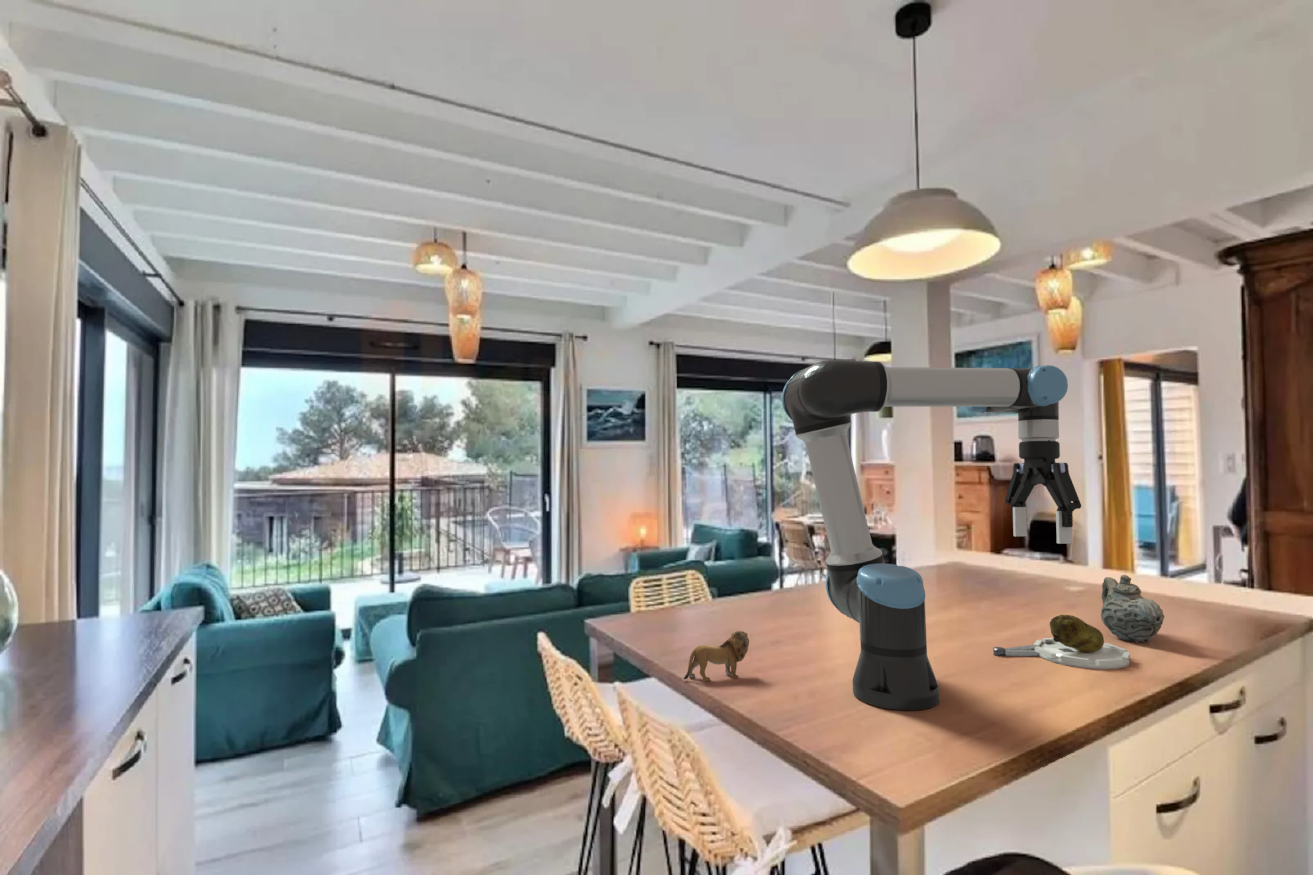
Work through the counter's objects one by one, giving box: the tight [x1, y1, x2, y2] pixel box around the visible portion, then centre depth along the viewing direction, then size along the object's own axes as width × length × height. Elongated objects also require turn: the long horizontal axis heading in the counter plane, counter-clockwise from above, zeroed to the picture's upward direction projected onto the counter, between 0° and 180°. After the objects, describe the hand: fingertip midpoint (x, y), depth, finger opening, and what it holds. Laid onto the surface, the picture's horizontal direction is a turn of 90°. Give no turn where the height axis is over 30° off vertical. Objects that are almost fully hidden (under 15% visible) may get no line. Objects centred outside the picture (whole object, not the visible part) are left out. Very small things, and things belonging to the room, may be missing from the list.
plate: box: [1032, 637, 1131, 670], centre depth 137 cm, size 17×17×2 cm
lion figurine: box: [683, 629, 750, 682], centre depth 130 cm, size 15×5×9 cm, turn 108°
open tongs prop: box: [992, 641, 1073, 657], centre depth 140 cm, size 16×9×1 cm, turn 94°
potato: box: [1049, 614, 1105, 652], centre depth 137 cm, size 8×13×8 cm, turn 95°
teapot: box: [1100, 574, 1165, 643], centre depth 149 cm, size 21×12×15 cm, turn 171°
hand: (1041, 539), depth 135 cm, fingers open, 13 cm apart
